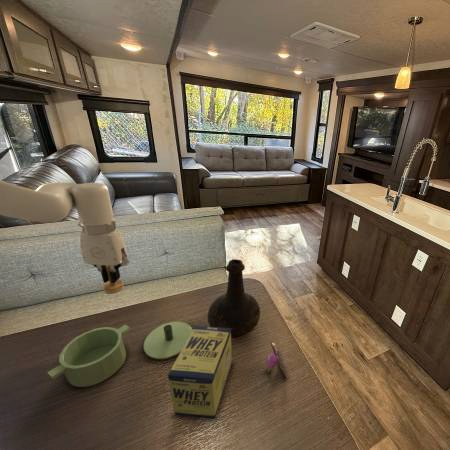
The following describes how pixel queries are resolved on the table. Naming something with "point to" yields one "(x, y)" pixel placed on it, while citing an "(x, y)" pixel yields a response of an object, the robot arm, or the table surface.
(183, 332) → the pot lid
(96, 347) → the pot
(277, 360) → the purple flower twig
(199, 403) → the protein box
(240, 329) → the glass bottle
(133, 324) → the table surface
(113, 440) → the table surface
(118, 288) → the disc with rod handle
